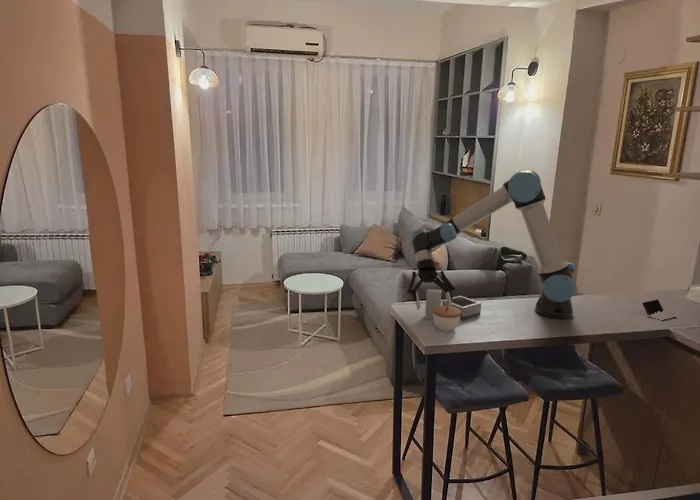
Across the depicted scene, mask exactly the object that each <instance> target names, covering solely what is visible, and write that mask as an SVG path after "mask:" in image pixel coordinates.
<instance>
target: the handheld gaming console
mask: <svg viewBox="0 0 700 500" xmlns="http://www.w3.org/2000/svg"><path fill="white" fill-rule="evenodd" d="M642 306H643V308H644V310H645V312H646V314H647V316H648V315H651V314H654V313H655V312H656V313H657V312H658V311H660V312H662V311H665V310H664V308H663V306H662V305H661V303H660V300H659V299H653V300H649V301H644V302H642Z"/></svg>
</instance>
